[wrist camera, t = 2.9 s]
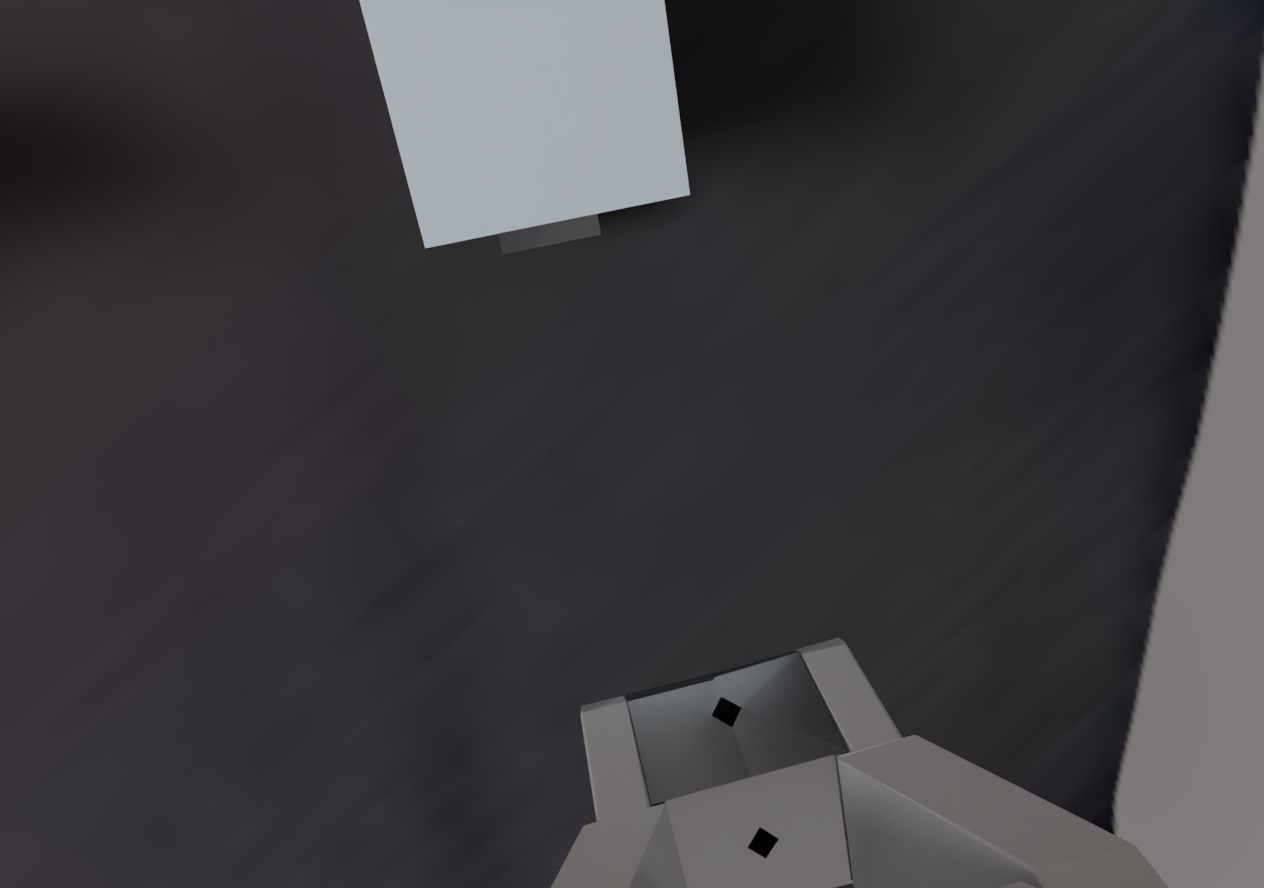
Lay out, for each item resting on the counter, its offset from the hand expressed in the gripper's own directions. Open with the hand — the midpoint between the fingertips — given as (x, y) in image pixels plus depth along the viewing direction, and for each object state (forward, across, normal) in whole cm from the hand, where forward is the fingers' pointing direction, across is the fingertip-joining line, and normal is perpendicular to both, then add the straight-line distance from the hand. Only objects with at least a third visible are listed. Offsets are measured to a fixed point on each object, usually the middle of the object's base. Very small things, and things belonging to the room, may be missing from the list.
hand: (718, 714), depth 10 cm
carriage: (+16, 0, -7) cm, 17 cm away
